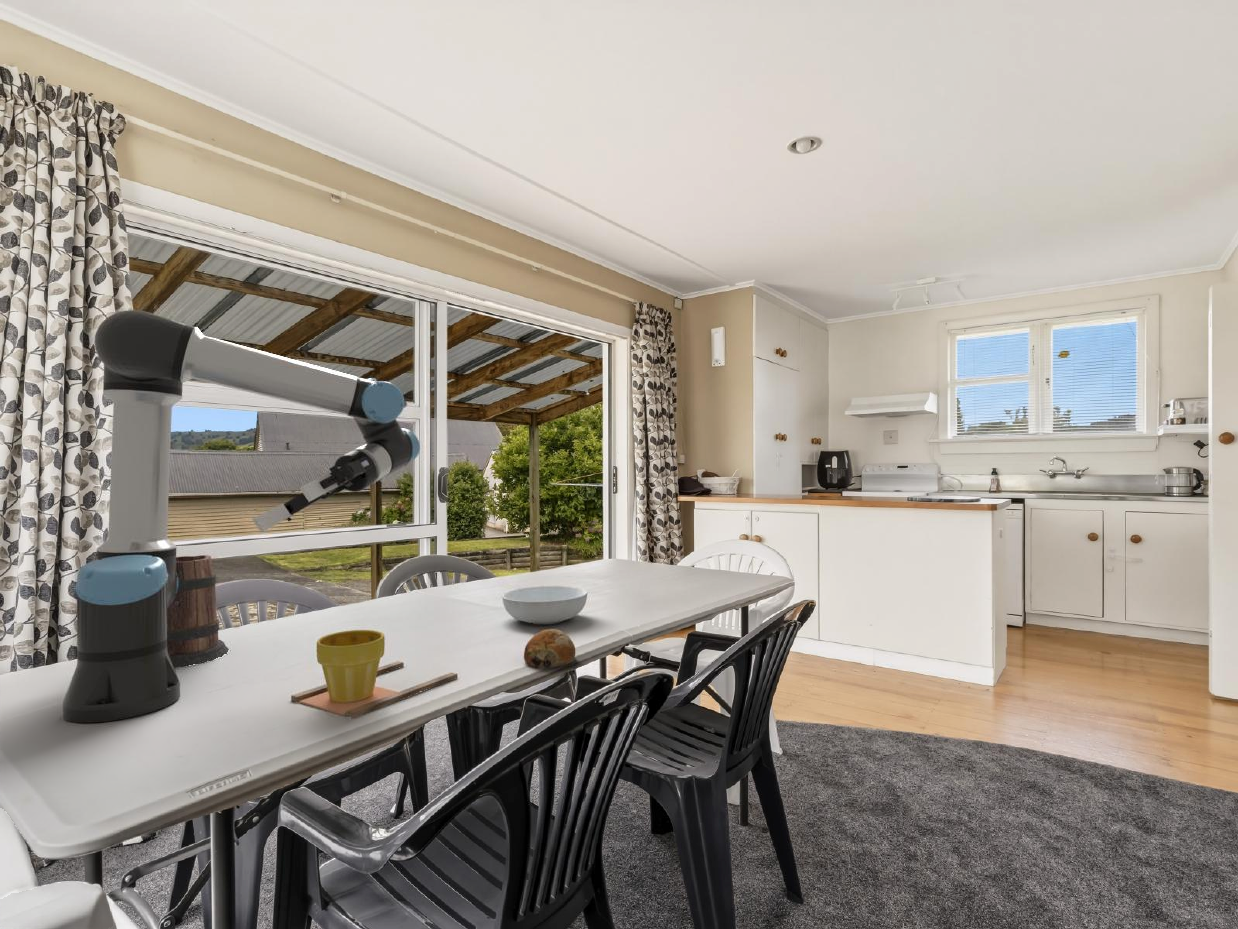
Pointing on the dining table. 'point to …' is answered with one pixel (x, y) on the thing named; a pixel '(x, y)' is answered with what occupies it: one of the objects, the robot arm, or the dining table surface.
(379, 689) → the terracotta mat
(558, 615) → the serving bowl
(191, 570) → the tankard
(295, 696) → the walnut track
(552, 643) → the bread roll
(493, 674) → the dining table surface
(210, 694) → the dining table surface
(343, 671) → the plant pot
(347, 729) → the dining table surface
